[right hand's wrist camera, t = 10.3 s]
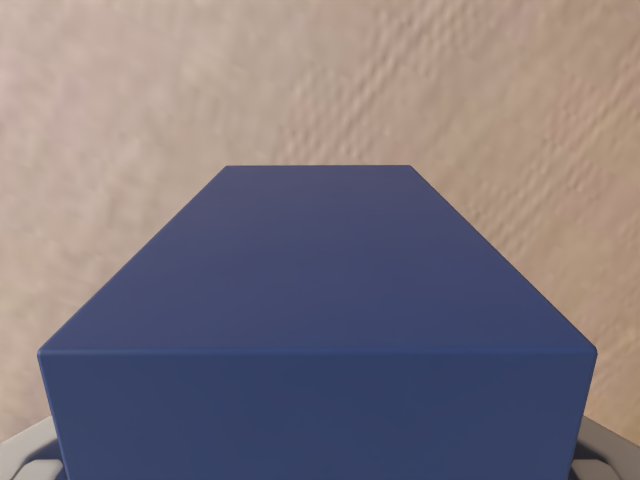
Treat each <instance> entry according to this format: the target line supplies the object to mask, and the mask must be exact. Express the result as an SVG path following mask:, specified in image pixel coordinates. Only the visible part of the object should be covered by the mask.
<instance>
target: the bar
mask: <svg viewBox="0 0 640 480" xmlns="http://www.w3.org/2000/svg"><path fill="white" fill-rule="evenodd" d="M597 355H598V354H597V349H596V347H595V346H594V345H593V344H592V343H591V342H590V341H589V340H588V339H587V338H586V337H585V336H584V335H583V334H582V333H581V332H580V331H579V330H578V329H577V328H576V327H575V326H574V325H572V324H571V323H570V322H569V321H568V320H567V319H566V318H565V317H564V316H563V315H562V314H561V313H560V312H559V311H558V310H557V309H556V308H555V307H554V306H553V305H552V304H551V303H550V302H549V301H548V300H547V299H546V298H545V297H544V296H543V295H542V294H541V293H540V292H539V291H538V290H537V289H536V288H535V287H534V286H533V285H532V284H531V283H530V282H529V281H528V280H527V279H526V278H525V277H524V276H523V275H522V274H521V273H520V272H518V271H517V270H516V269H515V268H514V267H513V266H512V265H511V264H510V263H509V262H508V261H507V260H506V259H505V258H504V257H503V256H502V255H501V254H500V253H499V252H498V251H497V250H496V249H495V248H494V247H493V246H492V245H491V244H490V243H489V242H488V241H487V240H486V239H485V238H484V237H483V236H482V235H481V234H480V233H479V232H478V231H477V230H476V229H475V228H474V227H473V226H472V225H471V224H470V223H469V222H468V221H467V220H466V219H465V218H463V217H462V216H461V215H460V214H459V213H458V212H457V211H456V210H455V209H454V208H453V207H452V206H451V205H450V204H449V203H448V202H447V201H446V200H445V199H444V198H443V197H442V196H441V195H440V194H439V193H438V192H437V191H436V190H435V189H434V188H433V187H432V186H431V185H430V184H429V183H428V182H427V181H426V180H425V179H424V178H423V177H422V176H421V175H420V174H419V173H418V172H417V171H416V170H415V169H414V168H413V167H412V166H410V165H317V166H225V167H224V168H223V169H222V170H221V171H220V172H219V173H218V174H217V175H216V176H215V177H214V178H213V179H212V180H211V181H210V182H209V183H208V184H207V185H206V186H205V187H204V188H203V189H202V190H201V191H200V192H199V193H198V194H197V195H196V196H195V197H194V198H193V199H192V200H191V201H190V202H189V203H188V204H187V205H186V206H185V207H184V208H183V209H182V210H181V211H179V212H178V213H177V214H176V215H175V216H174V217H173V218H172V219H171V220H170V221H169V222H168V223H167V224H166V225H165V226H164V227H163V228H162V229H161V230H160V231H159V232H158V233H157V234H156V235H155V236H154V237H153V238H152V239H151V240H150V241H149V242H148V243H147V244H146V245H145V246H144V247H143V248H142V249H141V250H140V251H139V252H138V253H137V254H136V255H135V256H134V257H133V258H131V259H130V260H129V261H128V262H127V263H126V264H125V265H124V266H123V267H122V268H121V269H120V270H119V271H118V272H117V273H116V274H115V275H114V276H113V277H112V278H111V279H110V280H109V281H108V282H107V283H106V284H105V285H104V286H103V287H102V288H101V289H100V290H99V291H98V292H97V293H96V294H95V295H94V296H93V297H92V298H91V299H90V300H89V301H88V302H87V303H86V304H85V305H83V306H82V307H81V308H80V309H79V310H78V311H77V312H76V313H75V314H74V315H73V316H72V317H71V318H70V319H69V320H68V321H67V322H66V323H65V324H64V325H63V326H62V327H61V328H60V329H59V330H58V331H57V332H56V333H55V334H54V335H53V336H52V337H51V338H50V339H49V340H48V341H47V342H46V343H45V344H44V345H43V346H42V347H41V348H40V349H39V350H38V353H37V358H38V362H39V366H40V370H41V374H42V378H43V382H44V386H45V390H46V394H47V398H48V402H49V406H50V410H51V414H52V418H53V422H54V426H55V430H56V434H57V438H58V442H59V446H60V450H61V454H62V458H63V462H64V466H65V470H66V474H67V478H68V480H568V475H569V471H570V467H571V463H572V459H573V455H574V450H575V446H576V442H577V438H578V434H579V430H580V426H581V421H582V417H583V413H584V409H585V405H586V401H587V396H588V392H589V388H590V384H591V380H592V376H593V372H594V367H595V363H596V359H597Z"/></svg>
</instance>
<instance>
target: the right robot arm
mask: <svg viewBox="0 0 640 480" xmlns="http://www.w3.org/2000/svg"><path fill="white" fill-rule="evenodd" d="M0 480H68V478H67V474H66V470H65V466H64V462H63V458H62V454H61V450H60V446H59V442H58V438H57V434H56V430H55V426H54V422H53V418H52V415H51V416H49V417H47V418H45V419H44V420H42V421H40V422H38V423H36V424H35V425H33V426H31V427H29V428H27V429H26V430H24V431H22V432H20V433H18V434H16V435H15V436H13V437H11V438H9V439H7V440H6V441H4V442H2V443H0ZM568 480H640V447H639V446H637V445H635V444H634V443H632V442H630V441H628V440H627V439H625V438H623V437H621V436H619V435H618V434H616V433H614V432H612V431H610V430H609V429H607V428H605V427H603V426H602V425H600V424H598V423H596V422H594V421H593V420H591V419H589V418H587V417H586V416H584V415H583V417H582V421H581V426H580V430H579V434H578V438H577V442H576V446H575V450H574V455H573V459H572V463H571V467H570V471H569V475H568Z"/></svg>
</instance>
